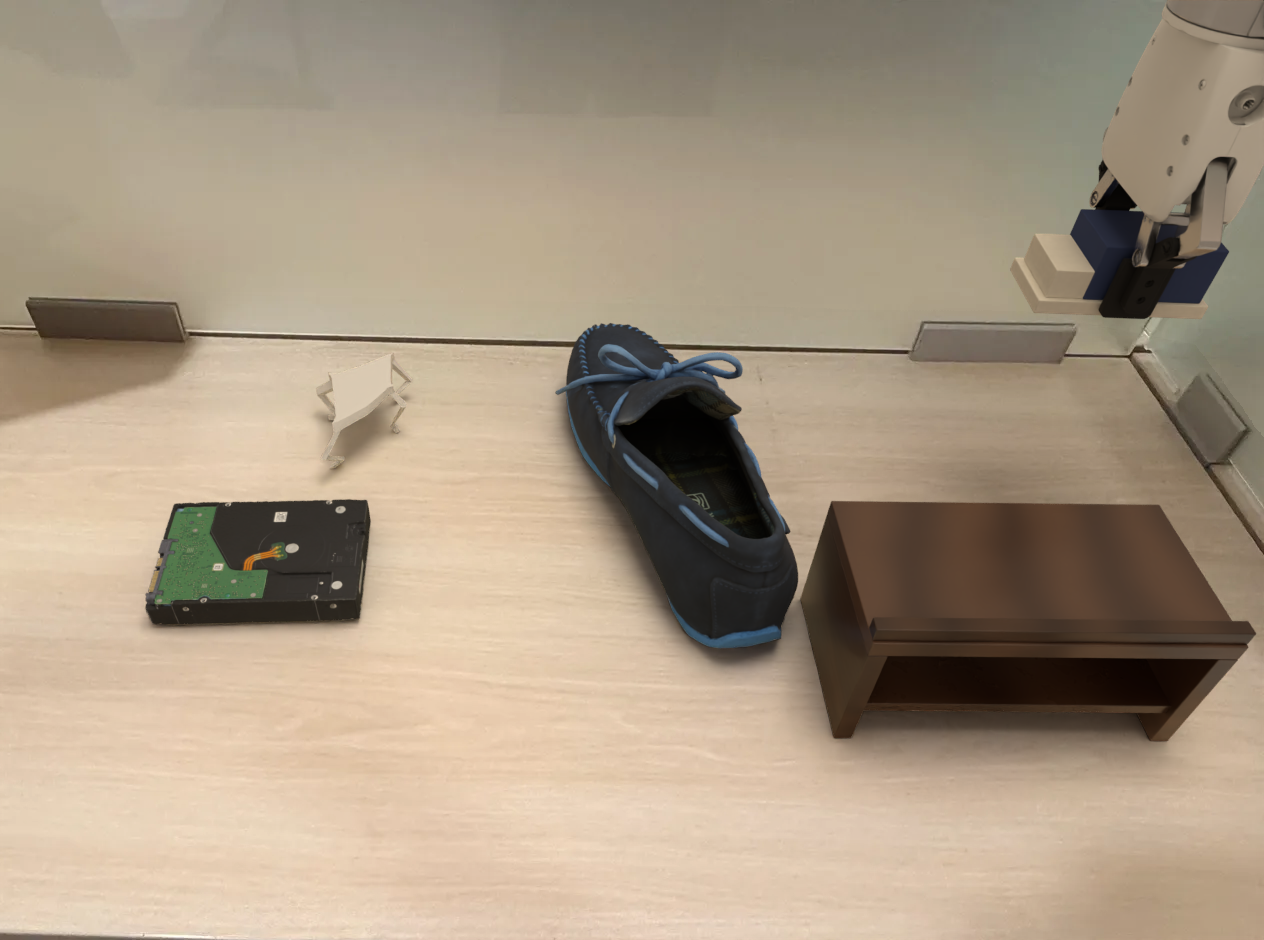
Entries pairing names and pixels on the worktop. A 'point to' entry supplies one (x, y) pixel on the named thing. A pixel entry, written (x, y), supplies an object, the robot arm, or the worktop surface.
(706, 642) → the moccasin
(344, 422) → the cream bent-legged table
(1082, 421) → the worktop surface
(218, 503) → the disk drive
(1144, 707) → the shoe shelf
